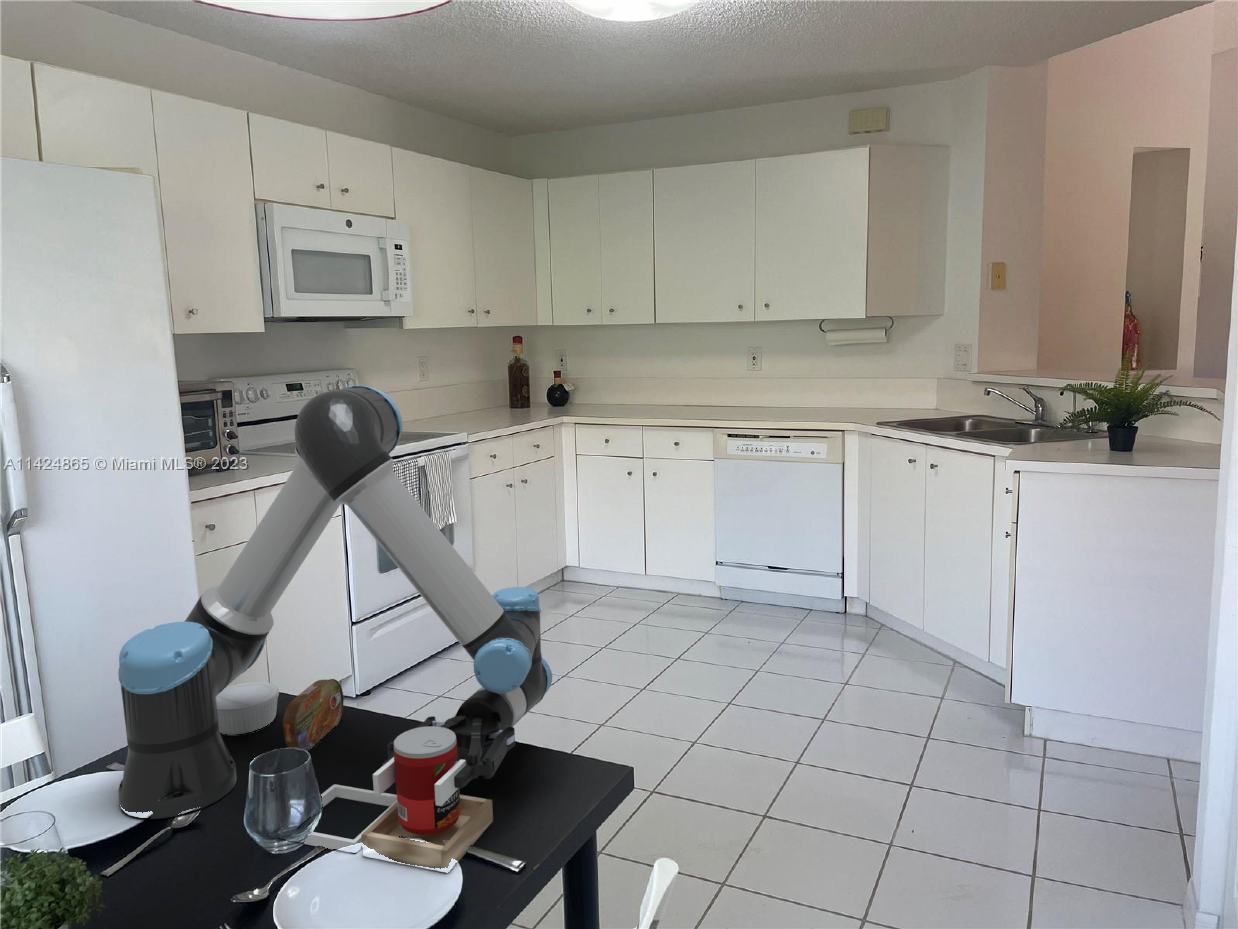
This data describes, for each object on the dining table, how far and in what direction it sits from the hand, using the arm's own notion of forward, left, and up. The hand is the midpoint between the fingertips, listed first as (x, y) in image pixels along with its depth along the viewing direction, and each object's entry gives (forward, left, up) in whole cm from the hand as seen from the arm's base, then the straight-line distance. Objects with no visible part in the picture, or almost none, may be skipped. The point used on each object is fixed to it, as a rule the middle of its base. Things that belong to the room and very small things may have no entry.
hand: (406, 790), depth 107 cm
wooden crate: (0, +5, -9) cm, 10 cm away
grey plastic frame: (-13, +5, -9) cm, 17 cm away
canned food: (0, +5, -7) cm, 8 cm away
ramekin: (-48, +26, -10) cm, 55 cm away
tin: (-33, +25, -9) cm, 42 cm away
